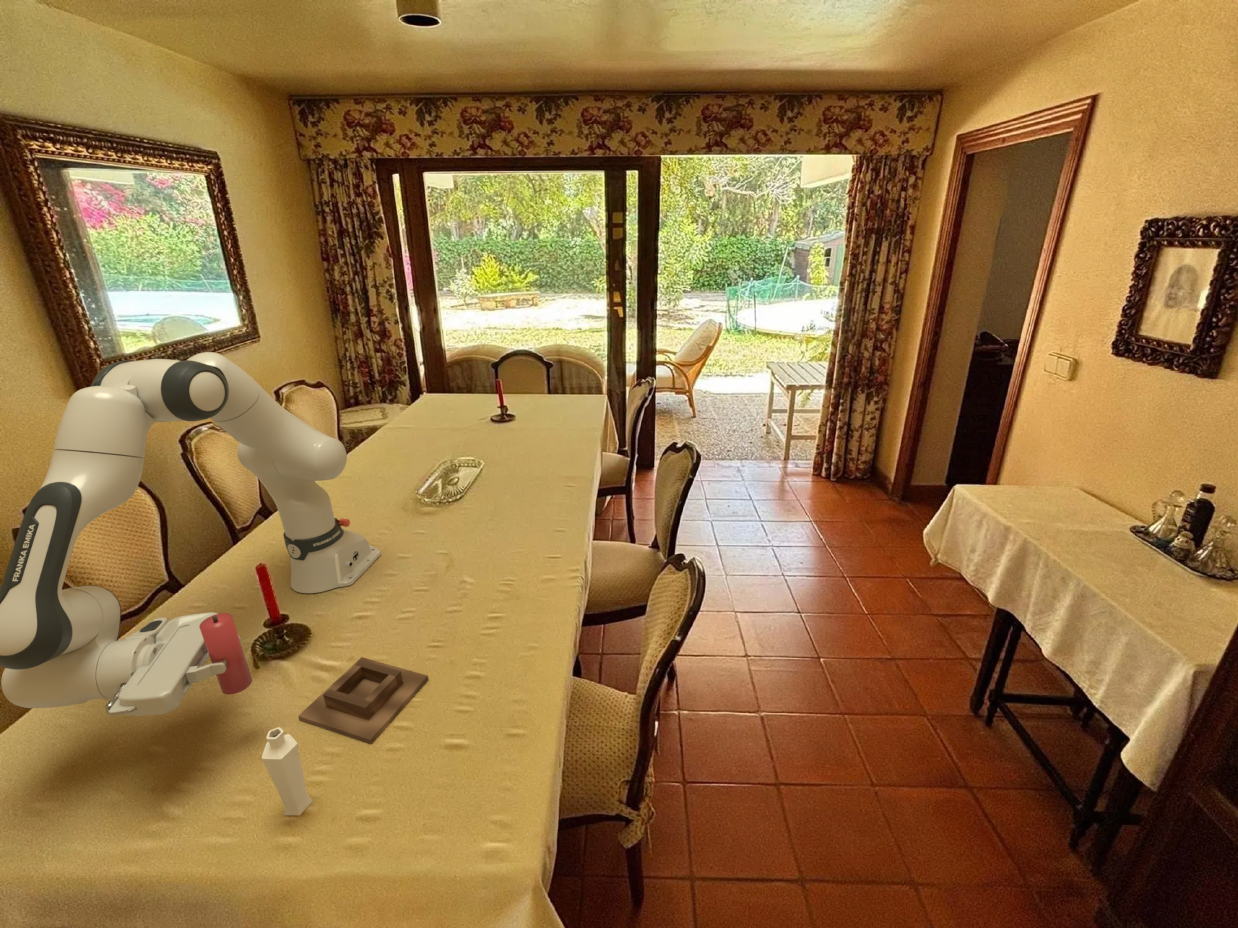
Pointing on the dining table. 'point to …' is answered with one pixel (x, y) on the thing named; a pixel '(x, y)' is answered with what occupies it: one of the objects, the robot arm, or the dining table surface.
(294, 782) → the perfume bottle
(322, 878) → the dining table surface
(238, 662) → the burgundy candle
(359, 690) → the walnut stand
